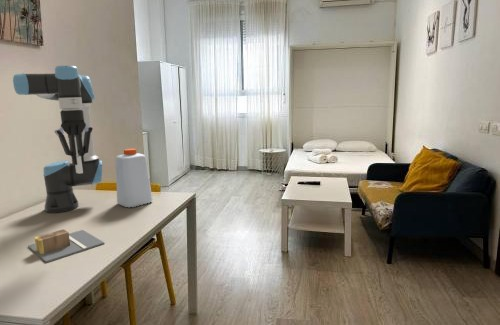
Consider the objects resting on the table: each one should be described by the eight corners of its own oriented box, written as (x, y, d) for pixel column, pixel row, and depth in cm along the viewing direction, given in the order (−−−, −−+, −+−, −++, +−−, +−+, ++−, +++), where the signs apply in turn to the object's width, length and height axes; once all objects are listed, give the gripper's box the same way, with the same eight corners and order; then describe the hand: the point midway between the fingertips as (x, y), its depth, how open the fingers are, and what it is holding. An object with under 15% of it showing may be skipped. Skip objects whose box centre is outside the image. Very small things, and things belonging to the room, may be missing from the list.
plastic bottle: (141, 197, 196) (136, 146, 191) (155, 202, 186) (151, 148, 181) (114, 203, 186) (108, 150, 181) (128, 209, 176) (122, 152, 170)
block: (65, 241, 137) (36, 250, 130) (63, 229, 136) (34, 237, 129) (70, 245, 134) (40, 254, 127) (68, 232, 133) (38, 240, 126)
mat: (28, 246, 135) (28, 244, 135) (82, 231, 149) (82, 229, 149) (46, 262, 121) (45, 260, 121) (104, 243, 135) (104, 241, 135)
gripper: (56, 110, 124) (65, 177, 129) (93, 108, 133) (100, 171, 138) (48, 110, 129) (57, 174, 134) (85, 108, 138) (92, 168, 143)
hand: (79, 172), depth 136 cm, fingers closed
